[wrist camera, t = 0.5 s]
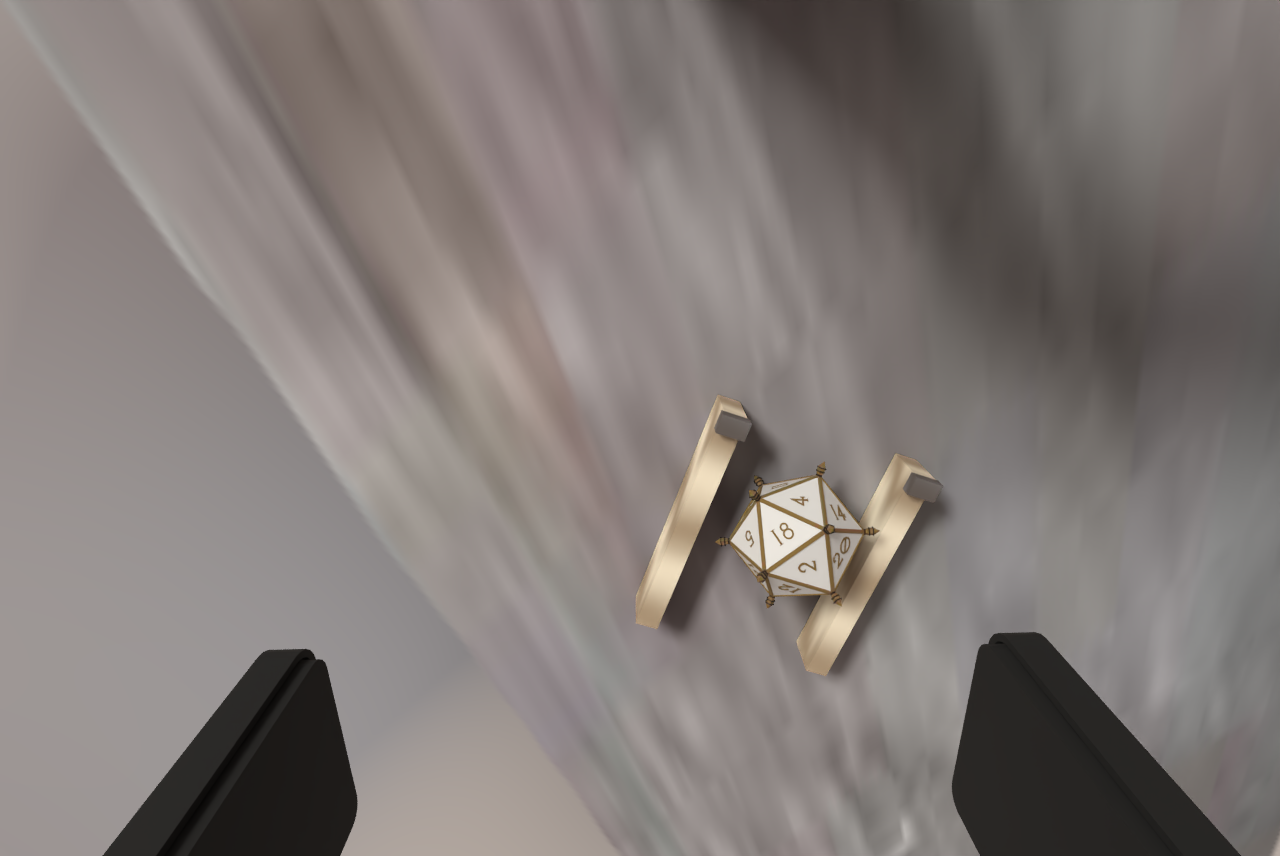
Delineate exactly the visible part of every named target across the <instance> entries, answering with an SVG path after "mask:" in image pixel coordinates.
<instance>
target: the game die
mask: <svg viewBox="0 0 1280 856" xmlns="http://www.w3.org/2000/svg"><path fill="white" fill-rule="evenodd" d="M817 467H818V468H817V469H816V471H817V474H816V475H812V476H807V477H801V478H796V479H790V480H785V481H779V482H774V483H768V484H763V480H762V478H760V477H757V476H755V475H754V483H756V486H759V488H758V490H757V491H755V490H749V498H752V500H751V502H750V504H749V505H748V507H747V509H746V510H745V512H744V514H743V516H742V517H741V519H740V521H739V522H738V524H737V526H736V528H735V529H734V531H733V533H732V534H731V536H730V538H725V537H724V538H721V537H720V539H719V540H717V541H716V542H715V543H717V544H719V545H721V546H722V545H725V546H726V545H727V544H730V545H731V546H732V547H733V549H734V550H735V551H736V553H737V554H738V555H739V556H740V558H741V559H742V560H743V561H744V563H745V564H746V565H747V567H748V568H749V569H750V570H751V572H752V573H753V574H754V575H755V577H756V578H757V580H758V582H760V583H761V584H762V586H763V587H764V588H765V589H766V591H767V592H768V593H769V597H767V600H766V602H765V603H766V605H767V608H769V607H770V606H772V605H774V604H773V603H774V602H775V600H774V598H775V597H777V596H805V595H831V597H832V599H831V600H833V602H834V604H837V605H839V606H841V607H842V601H841V600H842V598H840V596H839V594H837V593H836V590H837V588H838V586H839V584H840V582H841V580H842V578H843V576H844V574H845V572H846V570H847V568H848V566H849V564H850V562H851V560H852V558H853V556H854V554H855V552H856V550H857V548H858V546H859V544H860V542H861V540H862V538H863V536H864V535H869V536H870V535H873V536H874V535H875V534H876V533H878V532H879V531H880V530H878V529H876V528H873V526H872V527H871V528H869V527H868V528H866V529H863V528H862V526H861V525H860V524H859V523H858V521H857V520H856V519H855V518H854V516H853V515H852V514H851V513H850V511H849V510H848V509H847V508H846V507H845V505H844V504H843V503H842V502H841V500H840V499H839V498H838V497H837V495H836V494H835V493H834V492H833V490H832V489H831V488H830V487H829V486H828V484H827V483H826V482H825V481H824V479H823V478H822V475H823V473H825V472H824V471H825V470H826V468H825V462H823V463H822V464H820V465H819V466H817Z"/></svg>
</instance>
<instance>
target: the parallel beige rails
mask: <svg viewBox="0 0 1280 856" xmlns="http://www.w3.org/2000/svg"><path fill="white" fill-rule="evenodd" d="M751 425H752V423H751V421H750V419H748V418H747V416H746V414H745V412H744V410H743V408H742V405H741V403H740V402H739V401H736V400H733V399H730V398H727V397H724V396H720V395H718V396H717V398H716V401H715V403H714V405H713V408H712V410H711V413H710V415H709V418H708V420H707V423H706V425H705V428H704V430H703V432H702V435H701V437H700V440H699V442H698V445H697V447H696V450H695V452H694V455H693V457H692V460H691V462H690V464H689V467H688V469H687V472H686V474H685V477H684V479H683V482H682V484H681V487H680V489H679V492H678V494H677V496H676V499H675V501H674V504H673V506H672V509H671V511H670V514H669V516H668V519H667V521H666V524H665V526H664V528H663V531H662V533H661V536H660V538H659V541H658V543H657V546H656V548H655V551H654V553H653V555H652V558H651V560H650V563H649V565H648V568H647V570H646V573H645V575H644V578H643V580H642V583H641V585H640V587H639V590H638V592H637V595H636V623H637V624H641V625H644V626H648V627H652V628H655V629H657V628H658V626H659V623H660V621H661V619H662V616H663V614H664V612H665V609H666V607H667V605H668V602H669V600H670V598H671V595H672V593H673V591H674V588H675V586H676V584H677V581H678V579H679V577H680V575H681V572H682V570H683V568H684V565H685V563H686V561H687V558H688V556H689V554H690V551H691V549H692V547H693V544H694V542H695V540H696V537H697V535H698V533H699V530H700V528H701V526H702V523H703V521H704V519H705V516H706V514H707V512H708V509H709V507H710V505H711V502H712V500H713V498H714V495H715V493H716V491H717V488H718V486H719V484H720V481H721V479H722V477H723V474H724V472H725V470H726V467H727V465H728V463H729V460H730V458H731V456H732V453H733V451H734V449H735V446H736V444H737V442H738V440H739V441H742V442H745V439H746V437H747V435H748V432H749V430H750V428H751ZM942 488H943V485H942V484H941V483H940V482H939V481H938V480H935V479H934V478H933V477H932V476H931V475H930V474H929V473H928V472H927V471H926V470H925V468H924V467H923V466H922V465H921V464H920V463H919V462H918V461H917V460H915V459H912V458H909V457H906V456H903V455H900V454H897V453H896V454H895V455H894V457H893V459H892V461H891V463H890V465H889V467H888V469H887V471H886V473H885V474H884V476H883V478H882V480H881V482H880V484H879V486H878V488H877V490H876V492H875V493H874V495H873V497H872V499H871V501H870V503H869V505H868V507H867V509H866V511H865V512H864V514H863V516H862V518H861V520H860V522H859V524H860V525H861V526H862V528H863V529H866V528H868V527H869V528H871V527H872V526H873V528H876V529H878V530H880V531H879V532H878V533H876V534H875V535H874V536H873V535H870V536H869V535H864V536H863V538H862V540H861V542H860V544H859V546H858V548H857V550H856V552H855V554H854V556H853V558H852V560H851V562H850V564H849V566H848V568H847V570H846V572H845V574H844V576H843V578H842V580H841V582H840V584H839V586H838V588H837V590H836V593H837V594H839V596H840V598H842V600H841V601H842V607H841V606H839V605H837V604H834V602H833V600H831V599H832V597H831V595H821V596H820V598H819V600H818V602H817V604H816V605H815V607H814V609H813V611H812V613H811V615H810V617H809V619H808V621H807V623H806V624H805V626H804V628H803V630H802V632H801V634H800V636H799V638H798V640H797V645H798V648H799V651H800V654H801V657H802V660H803V662H804V665H805V668H806V671H810V672H813V673H817V674H821V675H824V676H826V675H827V673H828V671H829V670H830V668H831V666H832V664H833V662H834V661H835V659H836V657H837V655H838V653H839V652H840V650H841V648H842V646H843V645H844V643H845V641H846V639H847V637H848V636H849V634H850V632H851V630H852V628H853V627H854V625H855V623H856V621H857V619H858V618H859V616H860V614H861V612H862V611H863V609H864V607H865V605H866V603H867V602H868V600H869V598H870V596H871V594H872V593H873V591H874V589H875V587H876V586H877V584H878V582H879V580H880V578H881V577H882V575H883V573H884V571H885V569H886V568H887V566H888V564H889V562H890V560H891V559H892V557H893V555H894V553H895V552H896V550H897V548H898V546H899V544H900V543H901V541H902V539H903V537H904V535H905V534H906V532H907V530H908V528H909V527H910V525H911V523H912V521H913V519H914V518H915V516H916V514H917V512H918V510H919V509H920V507H921V505H922V503H923V501H924V500H926V501H929V502H932V503H934V502H935V500H936V499H937V497H938V495H939V493H940V492H941V490H942Z"/></svg>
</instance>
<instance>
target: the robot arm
mask: <svg viewBox="0 0 1280 856" xmlns="http://www.w3.org/2000/svg"><path fill="white" fill-rule="evenodd" d="M952 793H953V799H954V802H955V806H956V809H957V811H958V813H959V815H960V817H961V819H962V821H963V823H964V825H965V827H966V829H967V831H968V833H969V835H970V837H971V839H972V841H973V843H974V844H975V846H976V848H977V850H978V852H979V854H980V856H1241V855H1240V854H1239V853H1238V852H1237V851H1236V849H1235V848H1234V847H1233V846H1232V845H1231V844H1230V843H1229V842H1228V841H1227V839H1226V838H1225V837H1224V836H1223V835H1222V834H1221V833H1220V832H1219V831H1218V829H1217V828H1216V827H1215V826H1214V825H1213V824H1212V823H1211V822H1210V820H1209V819H1208V818H1207V817H1206V816H1205V815H1204V814H1203V813H1202V812H1201V810H1200V809H1199V808H1198V807H1197V806H1196V805H1195V804H1194V803H1193V802H1192V800H1191V799H1190V798H1189V797H1188V796H1187V795H1186V794H1185V793H1184V792H1183V790H1182V789H1181V788H1180V787H1179V786H1178V785H1177V784H1176V783H1175V781H1174V780H1173V779H1172V778H1171V777H1170V776H1169V775H1168V774H1167V773H1166V771H1165V770H1164V769H1163V768H1162V767H1161V766H1160V765H1159V764H1158V763H1157V761H1156V760H1155V759H1154V758H1153V757H1152V756H1151V755H1150V754H1149V752H1148V751H1147V750H1146V749H1145V748H1144V747H1143V746H1142V745H1141V744H1140V742H1139V741H1138V740H1137V739H1136V738H1135V737H1134V736H1133V735H1132V734H1131V732H1130V731H1129V730H1128V729H1127V728H1126V727H1125V726H1124V725H1123V723H1122V722H1121V721H1120V720H1119V719H1118V718H1117V717H1116V716H1115V715H1114V713H1113V712H1112V711H1111V710H1110V709H1109V708H1108V707H1107V706H1106V705H1105V703H1104V702H1103V701H1102V700H1101V699H1100V698H1099V697H1098V696H1097V695H1096V693H1095V692H1094V691H1093V690H1092V689H1091V688H1090V687H1089V686H1088V684H1087V683H1086V682H1085V681H1084V680H1083V679H1082V678H1081V677H1080V676H1079V674H1078V673H1077V672H1076V671H1075V670H1074V669H1073V668H1072V667H1071V666H1070V664H1069V663H1068V662H1067V661H1066V660H1065V659H1064V658H1063V657H1062V655H1061V654H1060V653H1059V652H1058V651H1057V650H1056V649H1055V648H1054V647H1053V645H1052V644H1051V643H1050V642H1049V641H1048V640H1047V639H1046V638H1045V637H1044V636H1043V635H1041V634H1039V633H1036V632H1029V633H997V634H994V635H993V636H992V637H991V638H990V641H989V644H984V645H981V647H980V648H979V650H978V654H977V659H976V664H975V669H974V674H973V679H972V684H971V689H970V694H969V699H968V705H967V710H966V715H965V720H964V725H963V730H962V735H961V740H960V745H959V750H958V755H957V760H956V765H955V770H954V775H953V780H952ZM356 812H357V794H356V790H355V785H354V781H353V777H352V773H351V768H350V764H349V760H348V755H347V751H346V747H345V743H344V738H343V734H342V730H341V726H340V722H339V717H338V712H337V708H336V704H335V700H334V695H333V691H332V687H331V683H330V678H329V674H328V670H327V666H326V664H325V662H324V661H323V660H319V659H318V660H316V659H315V656H314V654H313V653H312V652H311V651H310V650H307V649H292V650H267V651H265V652H263V653H262V654H261V655H260V656H259V657H258V658H257V659H256V660H255V662H254V663H253V664H252V666H251V667H250V668H249V669H248V671H247V672H246V673H245V675H244V676H243V677H242V679H241V680H240V681H239V682H238V684H237V685H236V686H235V687H234V689H233V690H232V691H231V692H230V694H229V695H228V696H227V698H226V699H225V700H224V701H223V703H222V704H221V705H220V707H219V708H218V709H217V710H216V712H215V713H214V714H213V716H212V717H211V718H210V719H209V721H208V722H207V723H206V724H205V726H204V727H203V728H202V729H201V731H200V732H199V733H198V735H197V736H196V737H195V738H194V740H193V741H192V742H191V744H190V745H189V746H188V747H187V749H186V750H185V751H184V752H183V754H182V755H181V756H180V758H179V759H178V760H177V762H176V763H175V764H174V765H173V767H172V768H171V769H170V770H169V772H168V773H167V774H166V776H165V777H164V778H163V780H162V781H161V782H160V783H159V784H158V786H157V787H156V788H155V790H154V791H153V792H152V793H151V795H150V796H149V797H148V798H147V800H146V801H145V802H144V804H143V805H142V806H141V808H140V809H139V810H138V811H137V813H136V814H135V815H134V816H133V818H132V819H131V820H130V822H129V823H128V824H127V825H126V827H125V828H124V829H123V830H122V832H121V833H120V834H119V836H118V837H117V838H116V839H115V841H114V842H113V843H112V844H111V846H110V847H109V848H108V850H107V851H106V852H105V853H104V855H103V856H340V855H341V853H342V850H343V848H344V846H345V843H346V841H347V839H348V836H349V834H350V832H351V829H352V827H353V824H354V821H355V817H356Z"/></svg>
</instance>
